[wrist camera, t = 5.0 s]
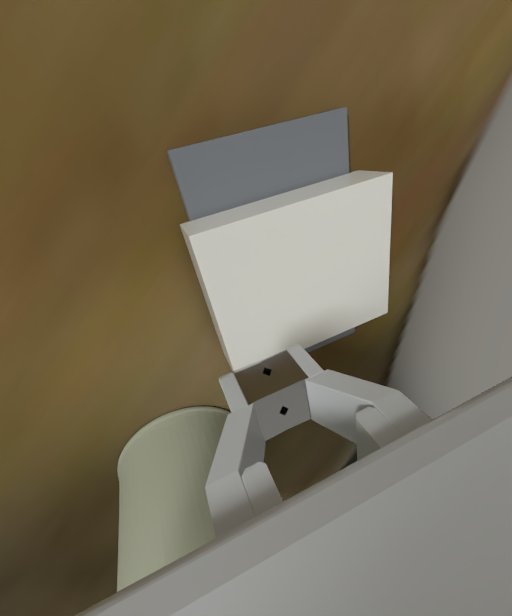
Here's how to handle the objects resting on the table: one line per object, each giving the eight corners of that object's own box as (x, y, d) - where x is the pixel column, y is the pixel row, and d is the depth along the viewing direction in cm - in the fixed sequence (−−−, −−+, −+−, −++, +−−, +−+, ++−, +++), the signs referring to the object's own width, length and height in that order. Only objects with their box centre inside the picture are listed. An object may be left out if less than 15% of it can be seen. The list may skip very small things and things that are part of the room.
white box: (236, 378, 16) (387, 312, 18) (188, 236, 12) (392, 172, 14) (223, 351, 18) (358, 295, 20) (179, 223, 14) (355, 170, 16)
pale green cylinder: (129, 406, 18) (129, 713, 8) (260, 403, 22) (367, 605, 12) (108, 506, 21) (89, 819, 11) (227, 488, 25) (291, 704, 15)
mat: (239, 376, 20) (242, 381, 20) (166, 150, 13) (167, 150, 12) (349, 328, 22) (354, 332, 22) (339, 108, 15) (346, 106, 14)
